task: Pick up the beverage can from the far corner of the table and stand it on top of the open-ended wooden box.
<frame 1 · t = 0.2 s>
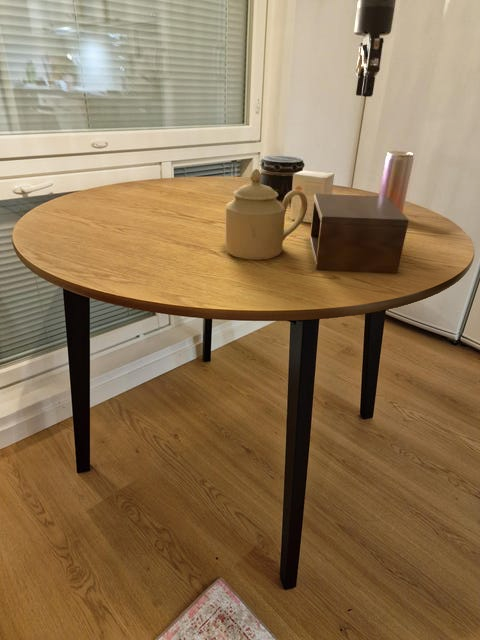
hand: (363, 96, 95), 26 cm above the table, tool pointing down, fingers open, 8 cm apart
sugar bowl: (260, 248, 83), on the table
container: (279, 195, 122), on the table
small box: (309, 220, 101), on the table
beverage can: (387, 219, 102), on the table
open-ended wooden box: (349, 255, 80), on the table
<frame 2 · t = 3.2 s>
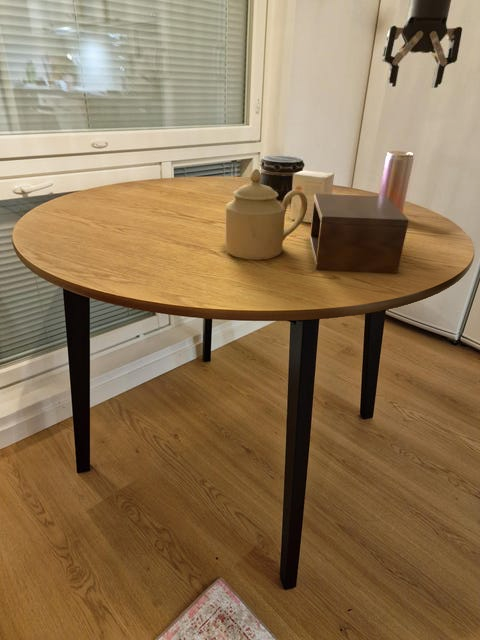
hand: (413, 87, 88), 28 cm above the table, tool pointing down, fingers open, 8 cm apart
nothing on the table moved.
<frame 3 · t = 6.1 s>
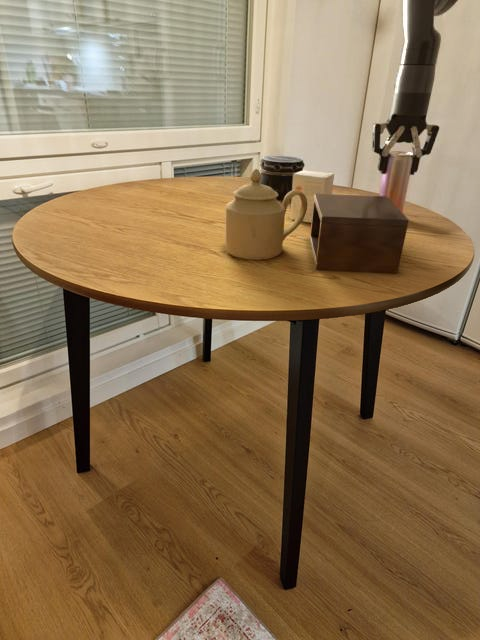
hand: (396, 173, 97), 11 cm above the table, tool pointing down, fingers closed on beverage can, 6 cm apart
beverage can: (387, 219, 102), on the table, touching gripper
everything else where it was.
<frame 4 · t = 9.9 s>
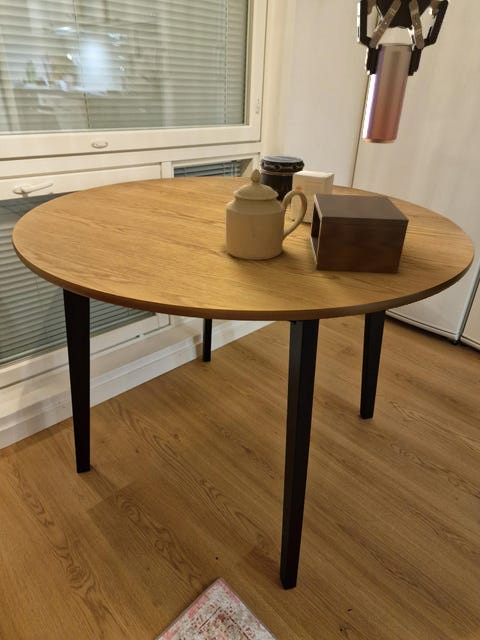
hand: (390, 74, 72), 30 cm above the table, tool pointing down, fingers closed on beverage can, 6 cm apart
beverage can: (378, 142, 78), point 19 cm above the table, touching gripper
everything else where it was.
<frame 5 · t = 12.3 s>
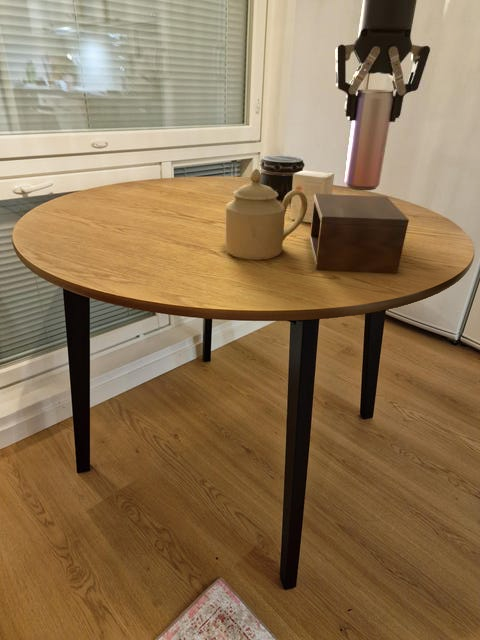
hand: (371, 120, 69), 23 cm above the table, tool pointing down, fingers closed on beverage can, 6 cm apart
beverage can: (360, 188, 74), point 12 cm above the table, touching gripper
everything else where it was.
when the fingers open (20 cm above the table, at t = 13.9 s): beverage can stays where it is, resting on open-ended wooden box.
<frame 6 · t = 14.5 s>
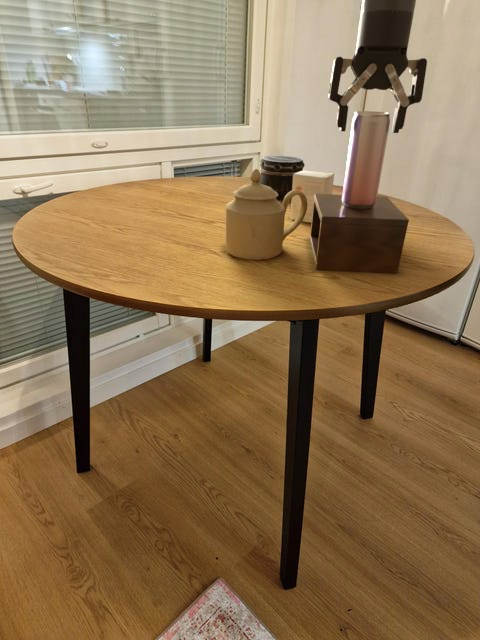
hand: (368, 131, 70), 22 cm above the table, tool pointing down, fingers open, 8 cm apart
beverage can: (357, 206, 76), point 9 cm above the table, touching open-ended wooden box
everything else where it was.
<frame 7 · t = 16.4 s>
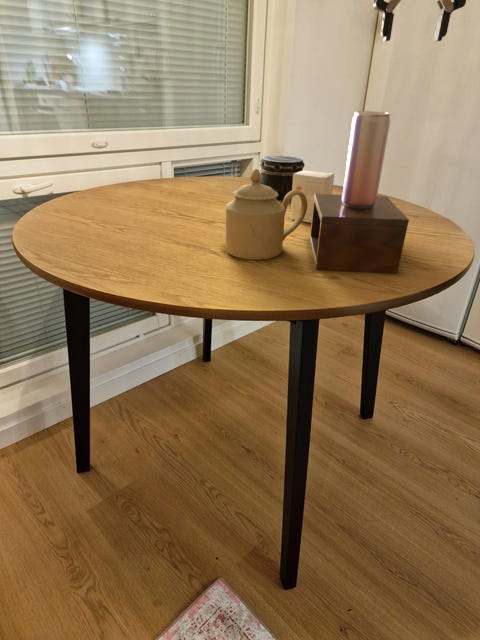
hand: (412, 40, 72), 35 cm above the table, tool pointing down, fingers open, 8 cm apart
nothing on the table moved.
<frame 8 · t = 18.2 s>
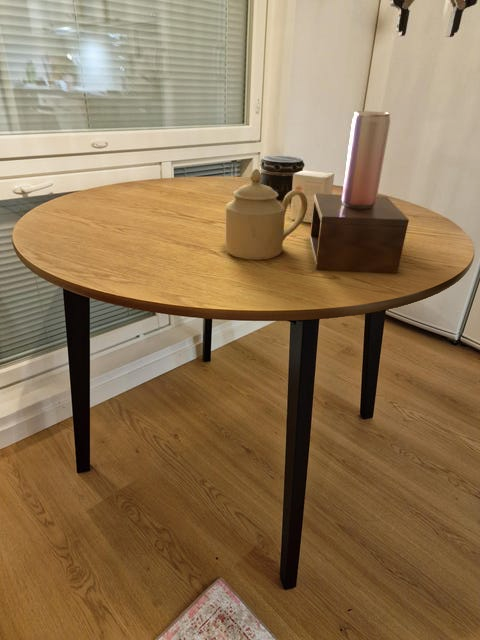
hand: (425, 36, 77), 36 cm above the table, tool pointing down, fingers open, 8 cm apart
nothing on the table moved.
at the end: beverage can inside the target area on the open-ended wooden box (0.1 cm from its centre), point 9.2 cm above the open-ended wooden box's base; beverage can tilted 0°; the gripper is holding nothing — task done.
